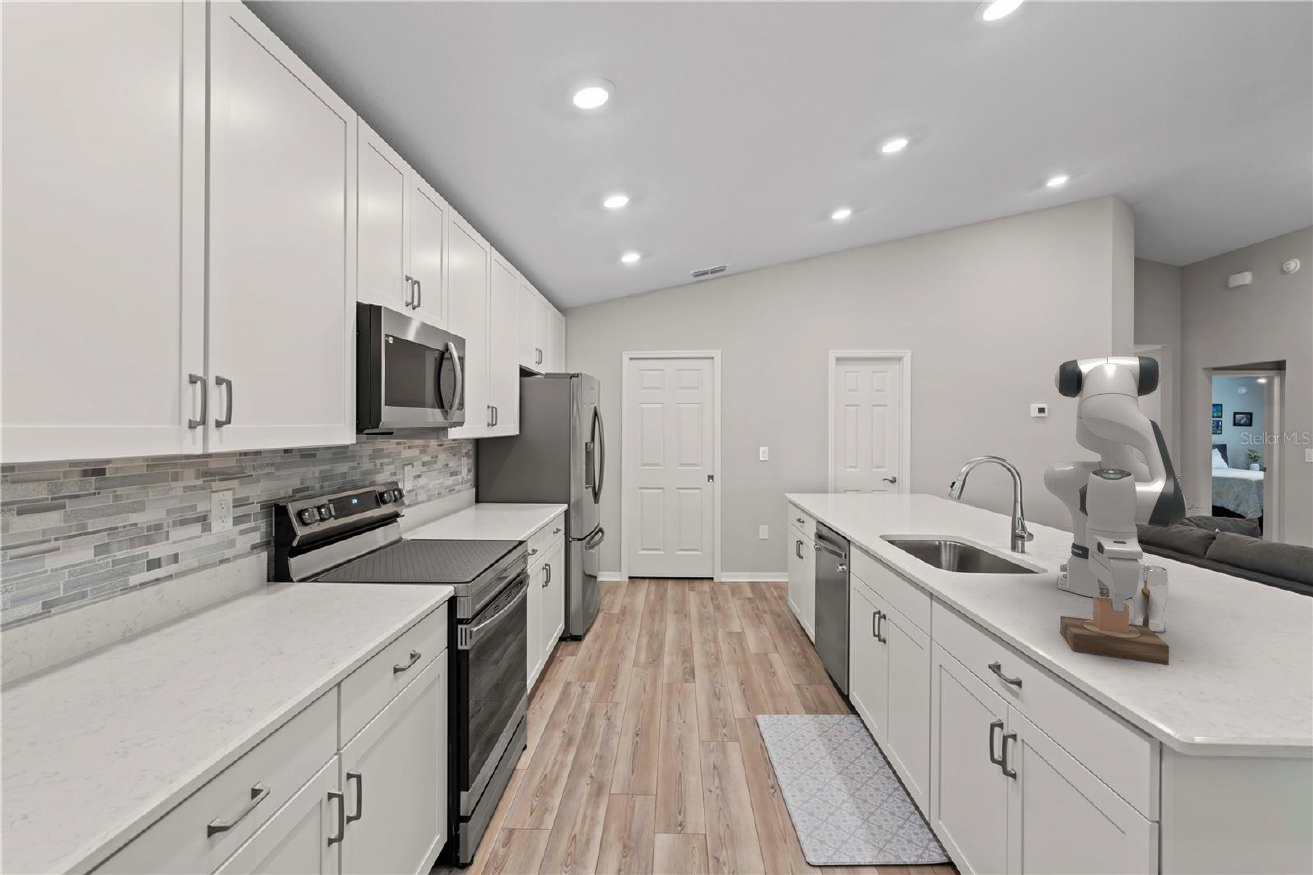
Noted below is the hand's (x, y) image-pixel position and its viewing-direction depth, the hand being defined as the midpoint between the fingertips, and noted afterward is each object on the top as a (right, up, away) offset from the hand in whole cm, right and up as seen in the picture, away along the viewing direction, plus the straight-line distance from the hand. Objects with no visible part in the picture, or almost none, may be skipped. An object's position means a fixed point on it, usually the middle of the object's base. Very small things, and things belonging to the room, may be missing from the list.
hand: (1110, 602), depth 120 cm
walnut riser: (0, -10, 0) cm, 10 cm away
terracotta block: (0, -6, 0) cm, 6 cm away
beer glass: (+19, -10, +11) cm, 24 cm away
